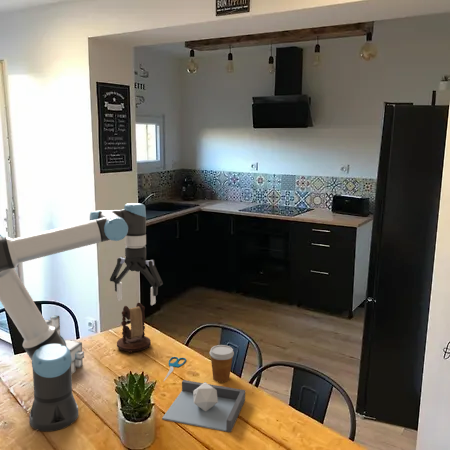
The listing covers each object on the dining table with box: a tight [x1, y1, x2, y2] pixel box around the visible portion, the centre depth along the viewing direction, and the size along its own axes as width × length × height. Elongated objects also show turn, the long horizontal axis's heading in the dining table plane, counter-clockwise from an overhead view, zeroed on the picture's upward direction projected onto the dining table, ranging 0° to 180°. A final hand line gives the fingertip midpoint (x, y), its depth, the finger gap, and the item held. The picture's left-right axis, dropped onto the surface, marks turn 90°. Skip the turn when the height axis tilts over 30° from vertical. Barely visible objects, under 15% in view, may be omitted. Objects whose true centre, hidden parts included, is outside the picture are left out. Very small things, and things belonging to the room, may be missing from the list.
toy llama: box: [44, 314, 85, 375], centre depth 184 cm, size 8×18×20 cm, turn 74°
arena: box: [161, 379, 246, 433], centre depth 158 cm, size 20×24×4 cm
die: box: [193, 382, 218, 411], centre depth 159 cm, size 8×9×10 cm
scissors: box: [163, 356, 187, 382], centre depth 186 cm, size 7×1×20 cm
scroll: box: [116, 302, 151, 354], centre depth 204 cm, size 15×15×20 cm
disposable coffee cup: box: [208, 344, 235, 383], centre depth 179 cm, size 10×10×12 cm
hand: (136, 302), depth 171 cm, fingers open, 13 cm apart
